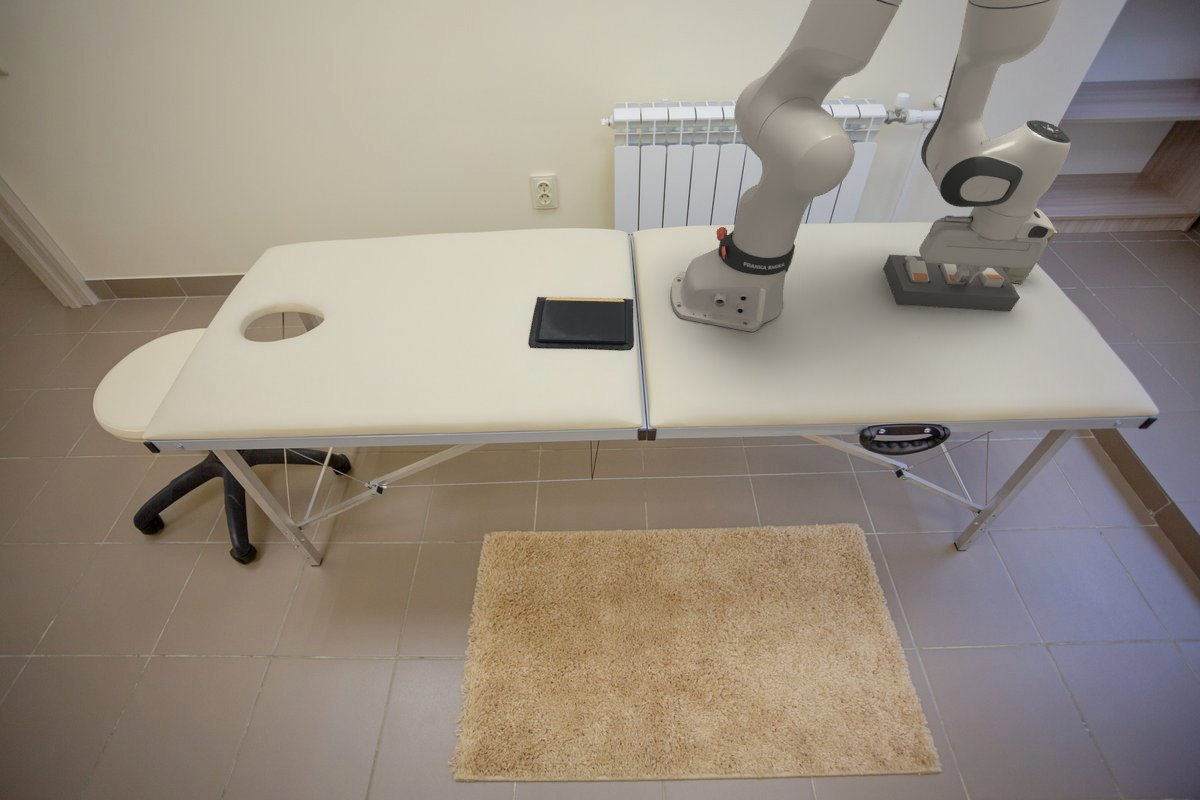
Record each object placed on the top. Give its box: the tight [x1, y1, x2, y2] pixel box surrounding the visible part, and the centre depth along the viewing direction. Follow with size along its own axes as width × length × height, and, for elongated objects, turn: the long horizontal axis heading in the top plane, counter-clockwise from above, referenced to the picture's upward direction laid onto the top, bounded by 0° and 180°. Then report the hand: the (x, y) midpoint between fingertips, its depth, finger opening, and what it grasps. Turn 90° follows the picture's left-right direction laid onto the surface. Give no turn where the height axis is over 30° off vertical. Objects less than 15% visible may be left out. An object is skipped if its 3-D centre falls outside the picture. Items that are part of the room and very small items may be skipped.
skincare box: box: [1002, 216, 1058, 284], centre depth 116 cm, size 6×4×12 cm
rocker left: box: [905, 260, 929, 283], centre depth 115 cm, size 3×5×2 cm, turn 175°
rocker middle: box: [939, 264, 966, 285], centre depth 115 cm, size 3×5×2 cm, turn 175°
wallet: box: [528, 296, 635, 352], centre depth 110 cm, size 20×2×15 cm
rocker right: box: [977, 268, 1004, 287], centre depth 114 cm, size 3×5×2 cm, turn 175°
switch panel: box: [882, 254, 1021, 312], centre depth 116 cm, size 22×12×4 cm, turn 85°
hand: (961, 280), depth 112 cm, fingers closed
